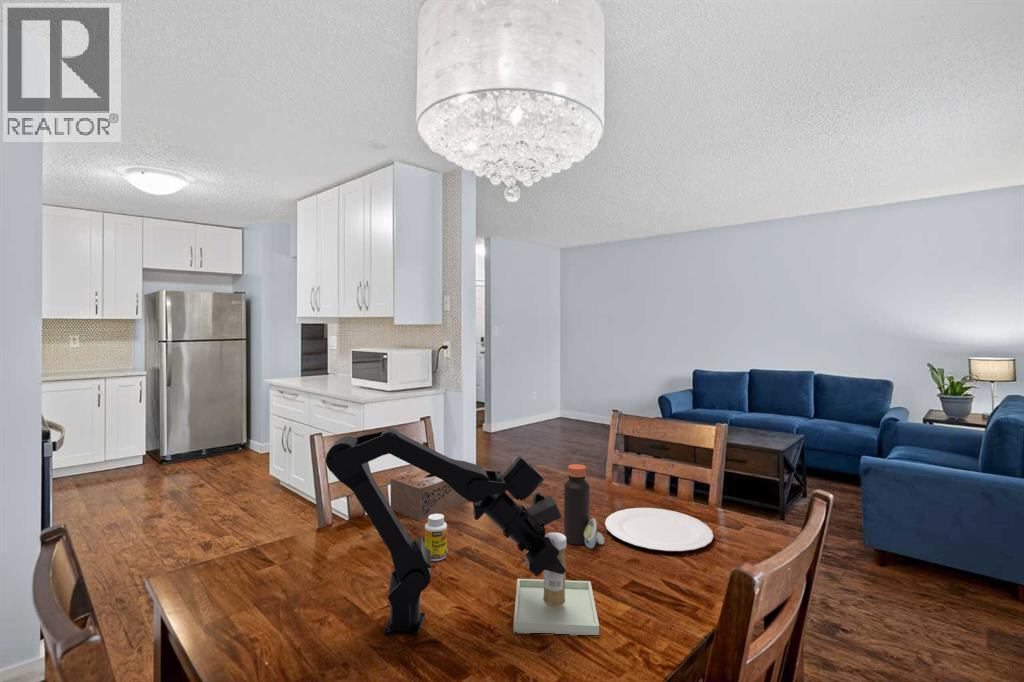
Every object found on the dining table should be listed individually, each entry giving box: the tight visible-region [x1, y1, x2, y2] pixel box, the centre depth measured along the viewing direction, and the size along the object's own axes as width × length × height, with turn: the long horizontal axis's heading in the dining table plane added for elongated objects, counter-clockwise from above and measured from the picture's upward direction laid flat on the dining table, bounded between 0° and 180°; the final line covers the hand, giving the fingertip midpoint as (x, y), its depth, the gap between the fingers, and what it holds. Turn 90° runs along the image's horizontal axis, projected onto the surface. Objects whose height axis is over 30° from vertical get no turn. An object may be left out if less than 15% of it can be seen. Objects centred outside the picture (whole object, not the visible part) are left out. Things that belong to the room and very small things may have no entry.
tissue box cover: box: [389, 469, 470, 522], centre depth 159 cm, size 26×14×10 cm, turn 140°
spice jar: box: [543, 532, 567, 607], centre depth 100 cm, size 5×5×13 cm
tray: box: [513, 578, 600, 636], centre depth 100 cm, size 16×16×2 cm
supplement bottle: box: [424, 513, 448, 562], centre depth 122 cm, size 6×6×10 cm
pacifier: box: [584, 517, 605, 549], centre depth 129 cm, size 7×6×6 cm
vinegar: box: [563, 463, 591, 546], centre depth 132 cm, size 7×7×20 cm
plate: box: [604, 507, 715, 553], centre depth 138 cm, size 29×29×2 cm
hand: (560, 566), depth 100 cm, fingers closed on spice jar, 4 cm apart
